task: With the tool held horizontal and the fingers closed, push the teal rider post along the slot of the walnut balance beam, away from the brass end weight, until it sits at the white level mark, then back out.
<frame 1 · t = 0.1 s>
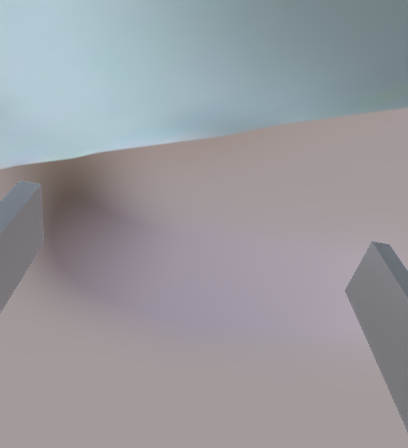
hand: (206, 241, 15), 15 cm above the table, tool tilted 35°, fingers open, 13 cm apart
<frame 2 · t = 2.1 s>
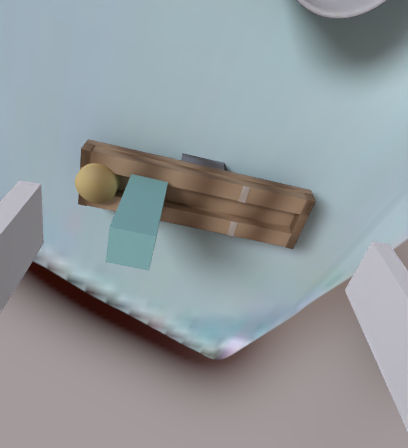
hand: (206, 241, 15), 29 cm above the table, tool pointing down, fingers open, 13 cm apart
rider: (140, 214, 38), point 9 cm above the table, slide at -5.5 cm
beam: (197, 183, 46), on the table
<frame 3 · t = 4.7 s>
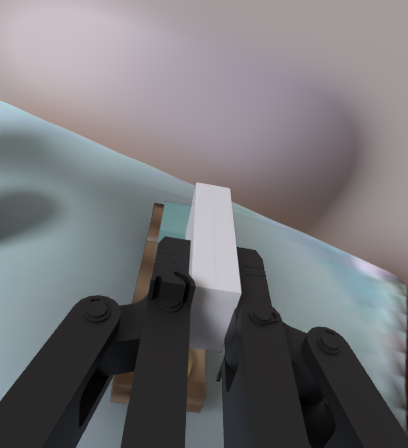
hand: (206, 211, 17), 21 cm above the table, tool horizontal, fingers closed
rider: (176, 275, 31), point 9 cm above the table, slide at -5.5 cm
beam: (166, 303, 41), on the table
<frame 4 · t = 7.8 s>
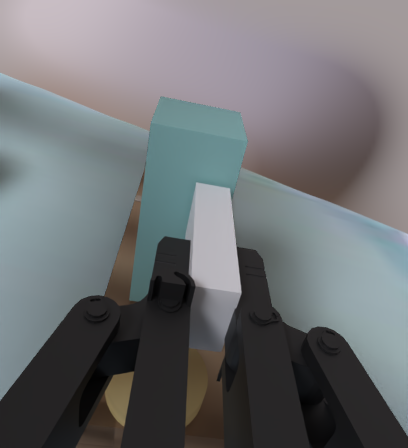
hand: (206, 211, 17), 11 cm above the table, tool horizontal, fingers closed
rider: (180, 222, 20), point 9 cm above the table, slide at -4.3 cm, touching gripper
beam: (164, 289, 28), on the table
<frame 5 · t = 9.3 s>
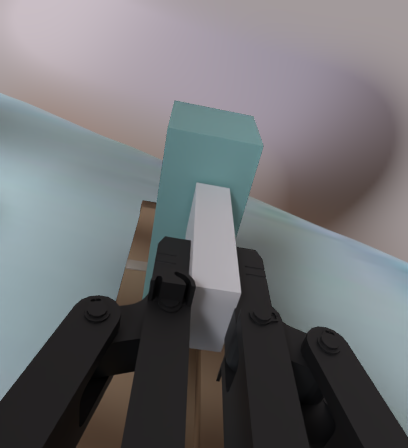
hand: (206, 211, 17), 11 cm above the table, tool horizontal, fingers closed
rider: (192, 225, 20), point 9 cm above the table, slide at 3.7 cm, touching gripper
beam: (163, 386, 22), on the table
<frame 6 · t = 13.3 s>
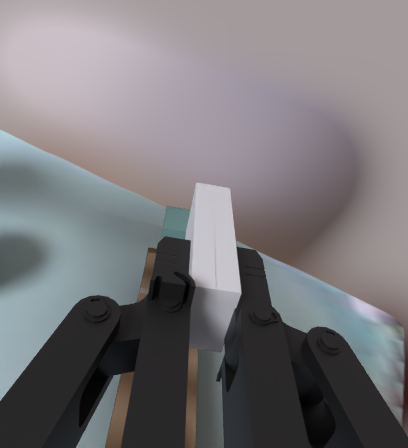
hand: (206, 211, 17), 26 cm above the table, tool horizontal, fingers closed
rider: (176, 264, 40), point 9 cm above the table, slide at 5.1 cm
beam: (159, 358, 40), on the table
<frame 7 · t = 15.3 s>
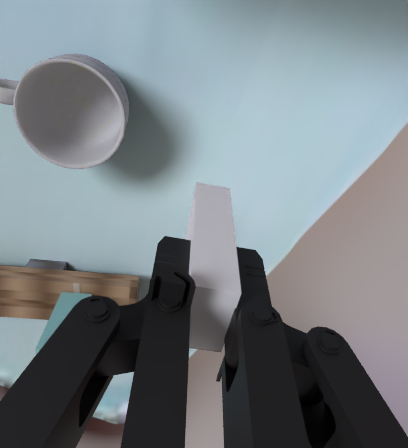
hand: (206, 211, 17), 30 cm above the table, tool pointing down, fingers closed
teacup: (74, 95, 43), on the table
rider: (68, 326, 48), point 9 cm above the table, slide at 5.1 cm
beam: (50, 280, 55), on the table
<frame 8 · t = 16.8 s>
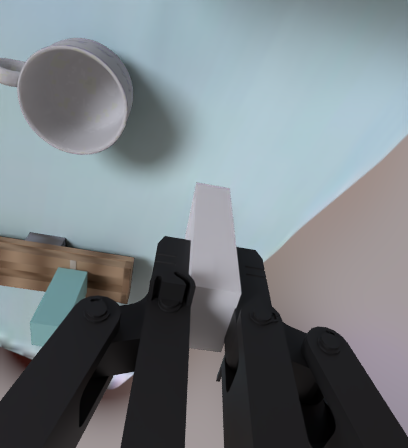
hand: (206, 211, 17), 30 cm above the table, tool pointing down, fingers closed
teacup: (80, 77, 43), on the table
rider: (63, 301, 50), point 9 cm above the table, slide at 5.1 cm
beam: (48, 253, 57), on the table
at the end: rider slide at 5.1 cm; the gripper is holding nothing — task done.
